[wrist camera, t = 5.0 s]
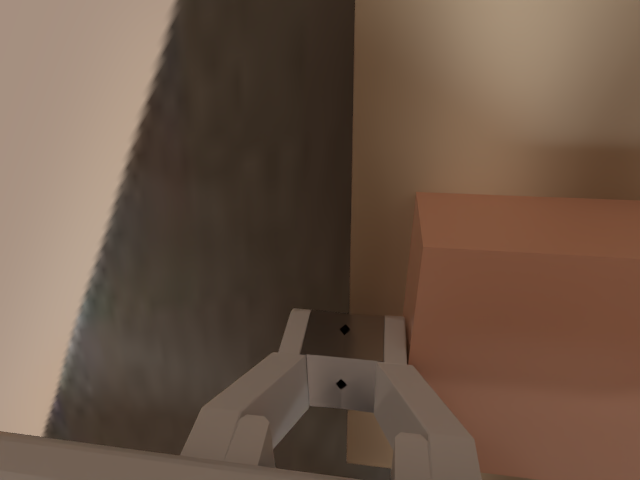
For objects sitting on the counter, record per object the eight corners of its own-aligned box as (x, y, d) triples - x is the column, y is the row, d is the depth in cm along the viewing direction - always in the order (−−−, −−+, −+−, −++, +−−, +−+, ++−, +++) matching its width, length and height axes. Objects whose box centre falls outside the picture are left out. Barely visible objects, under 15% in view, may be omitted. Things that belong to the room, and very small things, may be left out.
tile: (863, 208, 8) (1010, 279, 6) (704, 420, 12) (767, 508, 10) (416, 191, 10) (423, 247, 8) (394, 389, 13) (395, 461, 11)
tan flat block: (955, -50, 9) (1286, -70, 6) (659, 409, 18) (724, 510, 14) (366, -31, 11) (355, -37, 8) (354, 379, 19) (346, 462, 16)
